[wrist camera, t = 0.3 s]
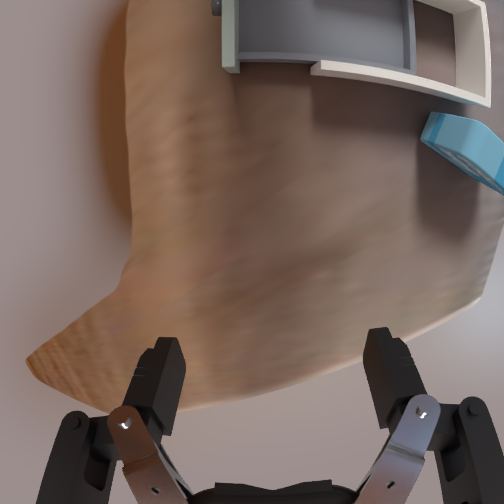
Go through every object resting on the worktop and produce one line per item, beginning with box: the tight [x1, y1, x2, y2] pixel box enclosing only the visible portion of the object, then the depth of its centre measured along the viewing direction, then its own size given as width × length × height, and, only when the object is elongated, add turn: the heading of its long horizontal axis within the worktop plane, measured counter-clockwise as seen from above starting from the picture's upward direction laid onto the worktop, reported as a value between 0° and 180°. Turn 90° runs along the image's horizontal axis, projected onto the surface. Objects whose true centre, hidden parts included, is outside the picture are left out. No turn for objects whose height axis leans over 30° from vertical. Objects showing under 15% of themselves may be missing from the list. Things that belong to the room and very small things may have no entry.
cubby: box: [310, 0, 491, 108], centre depth 23 cm, size 15×22×7 cm
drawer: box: [212, 0, 416, 76], centre depth 24 cm, size 15×23×7 cm, turn 90°
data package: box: [420, 111, 504, 195], centre depth 28 cm, size 12×4×12 cm, turn 70°
